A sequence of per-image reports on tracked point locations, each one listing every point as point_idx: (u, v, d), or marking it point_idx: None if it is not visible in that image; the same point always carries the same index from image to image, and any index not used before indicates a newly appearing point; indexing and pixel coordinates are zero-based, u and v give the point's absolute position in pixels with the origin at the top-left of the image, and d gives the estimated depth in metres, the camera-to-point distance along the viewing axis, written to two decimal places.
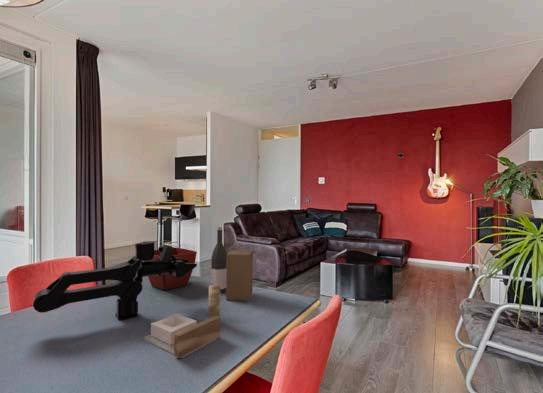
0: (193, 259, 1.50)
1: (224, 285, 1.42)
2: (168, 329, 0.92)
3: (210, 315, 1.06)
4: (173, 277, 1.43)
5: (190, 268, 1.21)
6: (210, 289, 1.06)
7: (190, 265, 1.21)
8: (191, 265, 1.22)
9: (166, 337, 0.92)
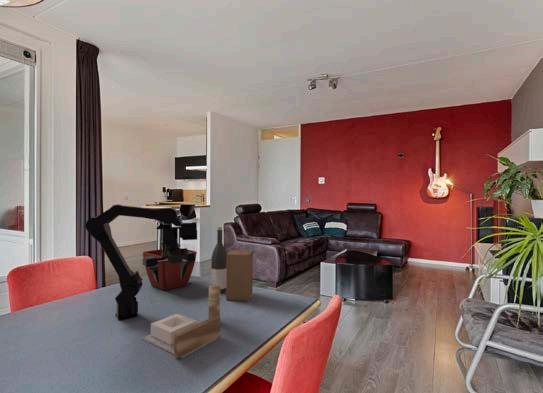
0: None
1: (224, 285, 1.42)
2: (168, 329, 0.92)
3: (210, 315, 1.06)
4: (173, 277, 1.43)
5: None
6: (210, 289, 1.06)
7: (155, 275, 1.12)
8: (155, 277, 1.13)
9: (166, 337, 0.92)
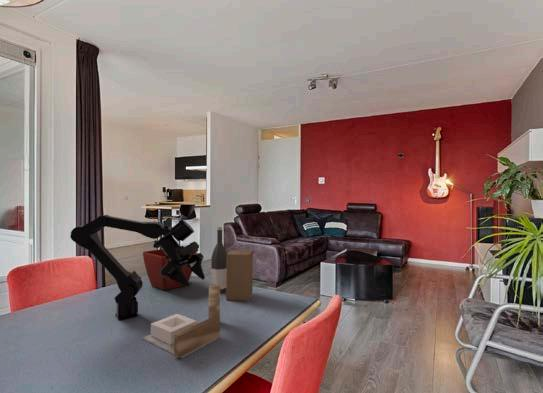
0: None
1: (224, 285, 1.42)
2: (168, 329, 0.92)
3: (210, 315, 1.06)
4: None
5: (180, 281, 1.06)
6: (210, 289, 1.06)
7: (182, 278, 1.06)
8: (183, 280, 1.06)
9: (166, 337, 0.92)
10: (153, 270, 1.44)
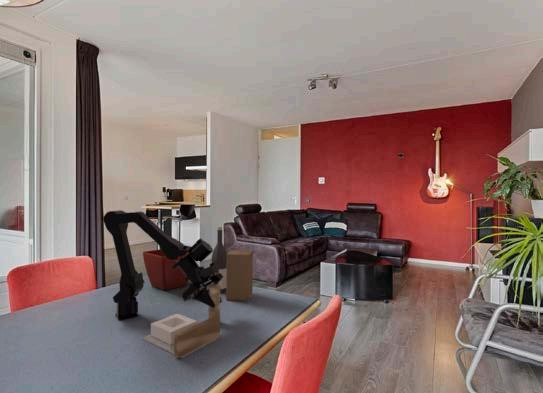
0: None
1: (224, 285, 1.42)
2: (168, 329, 0.92)
3: (210, 315, 1.06)
4: (173, 277, 1.43)
5: (205, 302, 1.05)
6: (210, 289, 1.06)
7: (208, 300, 1.05)
8: (208, 301, 1.05)
9: (166, 337, 0.92)
10: (153, 270, 1.44)
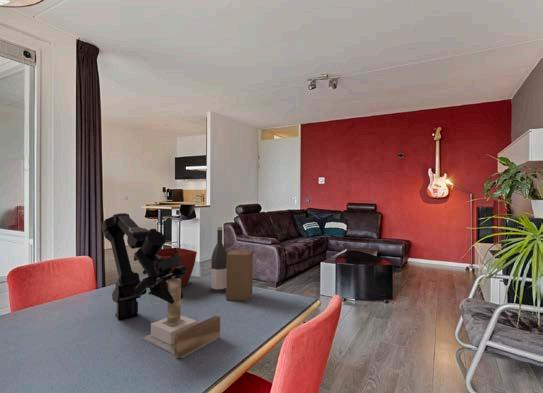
0: (193, 259, 1.50)
1: (224, 285, 1.42)
2: (168, 329, 0.92)
3: (169, 312, 0.95)
4: None
5: (163, 297, 0.95)
6: (169, 283, 0.95)
7: (165, 295, 0.94)
8: (166, 296, 0.94)
9: (166, 337, 0.92)
10: None
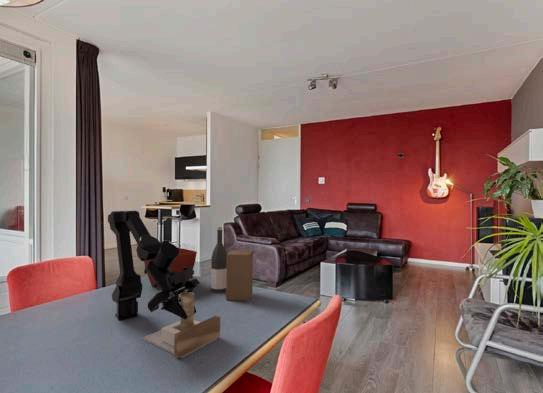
0: (193, 259, 1.50)
1: (224, 285, 1.42)
2: None
3: (182, 328, 0.92)
4: None
5: (176, 313, 0.91)
6: (182, 298, 0.92)
7: (179, 310, 0.91)
8: (180, 311, 0.91)
9: None
10: None
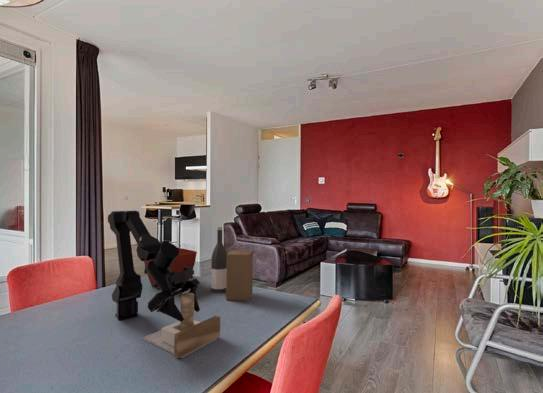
0: (193, 259, 1.50)
1: (224, 285, 1.42)
2: None
3: (182, 328, 0.92)
4: None
5: (172, 315, 0.89)
6: (182, 298, 0.92)
7: (175, 312, 0.89)
8: (176, 314, 0.89)
9: None
10: None
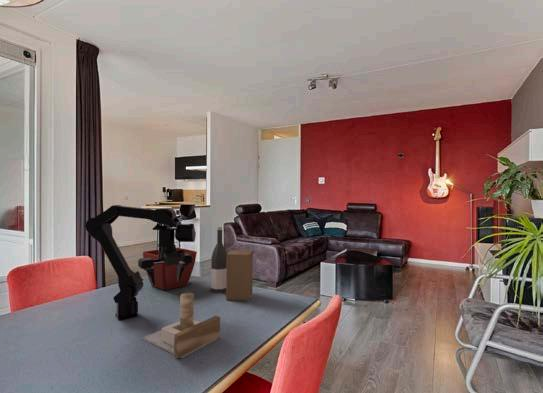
0: (193, 259, 1.50)
1: (224, 285, 1.42)
2: None
3: (182, 328, 0.92)
4: (173, 277, 1.43)
5: None
6: (182, 298, 0.92)
7: (150, 277, 1.10)
8: (151, 279, 1.10)
9: None
10: None
